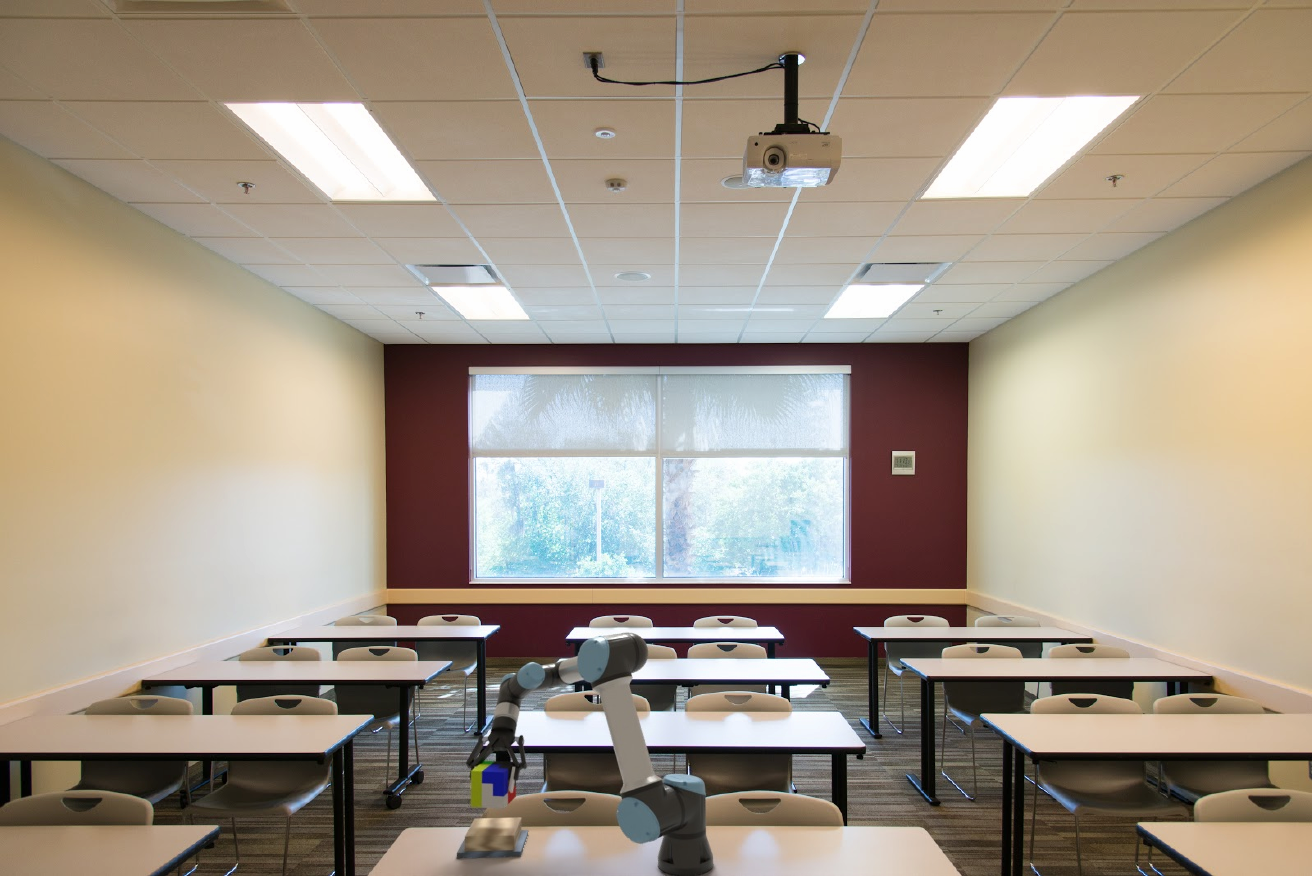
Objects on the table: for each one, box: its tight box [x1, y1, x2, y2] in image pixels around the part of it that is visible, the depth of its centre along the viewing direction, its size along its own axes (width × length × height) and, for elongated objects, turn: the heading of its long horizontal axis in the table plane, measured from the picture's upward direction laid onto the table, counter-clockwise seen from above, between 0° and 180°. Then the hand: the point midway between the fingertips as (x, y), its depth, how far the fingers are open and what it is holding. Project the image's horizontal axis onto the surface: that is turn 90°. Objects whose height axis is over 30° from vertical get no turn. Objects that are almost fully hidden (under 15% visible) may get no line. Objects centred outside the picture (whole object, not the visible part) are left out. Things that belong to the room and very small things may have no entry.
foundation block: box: [456, 817, 529, 860], centre depth 234 cm, size 18×16×6 cm
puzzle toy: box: [470, 760, 517, 810], centre depth 235 cm, size 10×10×10 cm
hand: (491, 790), depth 232 cm, fingers closed on puzzle toy, 11 cm apart
